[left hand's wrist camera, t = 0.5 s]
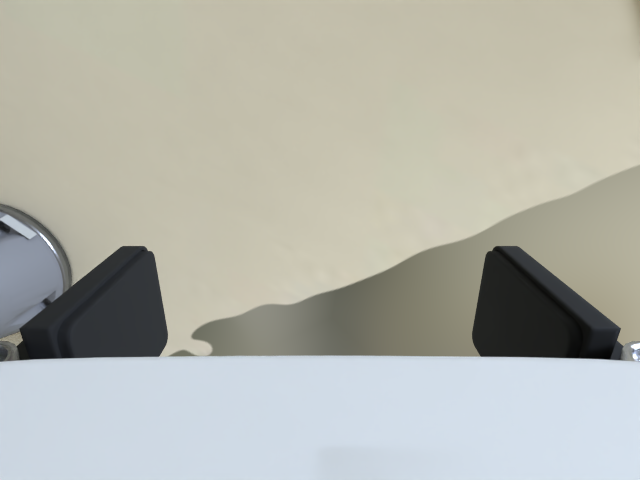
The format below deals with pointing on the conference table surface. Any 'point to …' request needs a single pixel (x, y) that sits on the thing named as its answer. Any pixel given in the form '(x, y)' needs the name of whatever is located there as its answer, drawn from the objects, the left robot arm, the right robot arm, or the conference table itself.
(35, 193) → the conference table surface
